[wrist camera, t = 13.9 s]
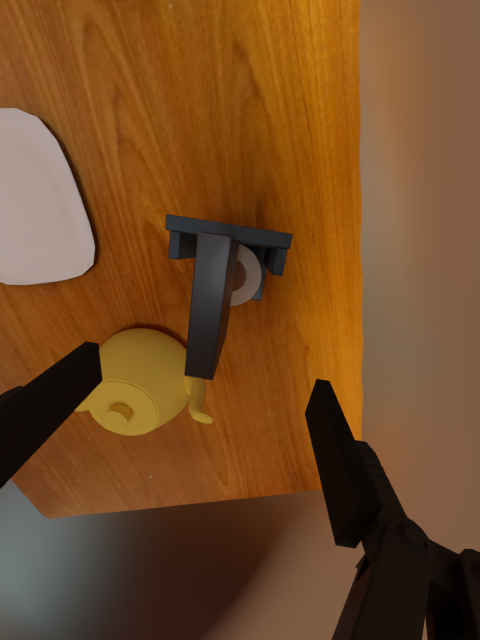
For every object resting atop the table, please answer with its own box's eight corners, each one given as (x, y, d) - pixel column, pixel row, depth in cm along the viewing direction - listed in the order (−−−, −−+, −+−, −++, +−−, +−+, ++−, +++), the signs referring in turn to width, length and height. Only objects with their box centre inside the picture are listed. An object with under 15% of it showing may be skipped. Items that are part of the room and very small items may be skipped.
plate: (-5, 287, 41) (-16, 290, 39) (-91, 133, 32) (-109, 128, 31) (113, 272, 38) (107, 275, 37) (54, 101, 30) (42, 95, 28)
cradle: (119, 193, 10) (118, 365, 13) (315, 224, 10) (278, 391, 13) (211, 233, 34) (204, 290, 37) (270, 242, 34) (260, 299, 37)
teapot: (221, 321, 40) (206, 369, 28) (227, 402, 47) (217, 469, 35) (82, 322, 42) (9, 367, 30) (107, 400, 49) (57, 463, 37)
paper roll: (201, 237, 23) (195, 301, 25) (266, 247, 23) (255, 310, 25) (217, 241, 34) (212, 285, 36) (261, 248, 34) (254, 292, 36)
